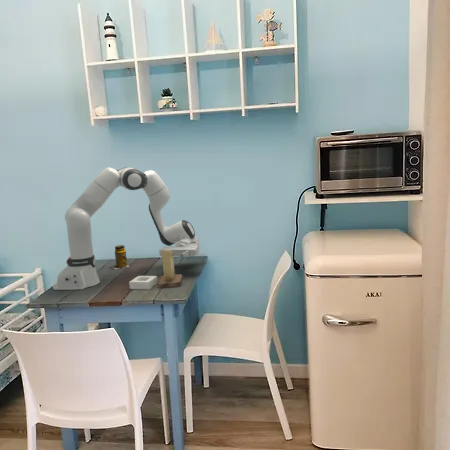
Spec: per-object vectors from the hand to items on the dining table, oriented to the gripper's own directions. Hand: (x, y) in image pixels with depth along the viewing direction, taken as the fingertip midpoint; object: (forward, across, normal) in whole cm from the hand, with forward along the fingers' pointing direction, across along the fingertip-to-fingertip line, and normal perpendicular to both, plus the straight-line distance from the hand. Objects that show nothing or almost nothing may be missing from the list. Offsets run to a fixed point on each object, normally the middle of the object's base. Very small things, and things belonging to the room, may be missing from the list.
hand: (173, 255), depth 233 cm
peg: (+7, 0, +10) cm, 12 cm away
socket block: (+13, -12, +12) cm, 21 cm away
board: (+7, 0, +12) cm, 14 cm away
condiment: (-21, -42, +12) cm, 48 cm away
